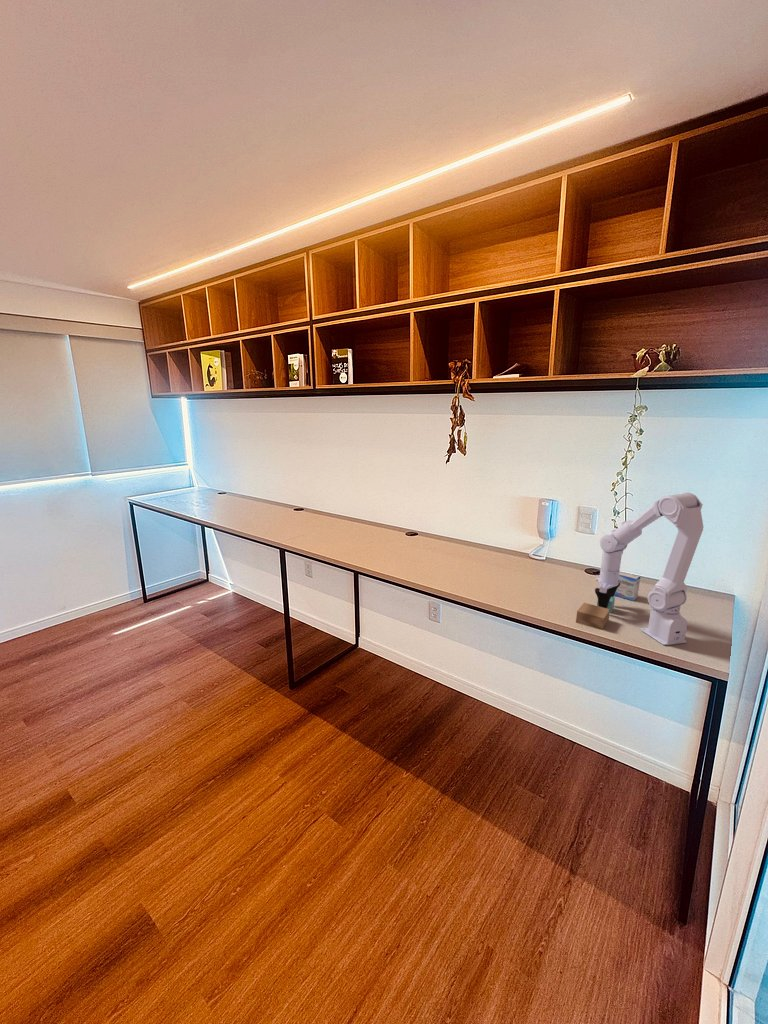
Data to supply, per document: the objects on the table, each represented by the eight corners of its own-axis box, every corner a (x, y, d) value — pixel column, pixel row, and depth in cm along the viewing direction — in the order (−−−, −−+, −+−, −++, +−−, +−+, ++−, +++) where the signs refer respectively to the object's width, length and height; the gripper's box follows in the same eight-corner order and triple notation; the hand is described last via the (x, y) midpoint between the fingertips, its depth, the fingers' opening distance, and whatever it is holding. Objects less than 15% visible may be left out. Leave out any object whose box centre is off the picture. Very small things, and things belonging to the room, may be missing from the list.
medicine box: (610, 595, 163) (613, 573, 161) (614, 591, 166) (617, 570, 164) (633, 601, 157) (637, 579, 155) (637, 597, 160) (640, 575, 158)
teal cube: (613, 609, 152) (614, 597, 151) (610, 613, 148) (611, 601, 147) (599, 605, 154) (601, 594, 153) (596, 609, 151) (597, 598, 150)
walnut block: (608, 620, 143) (609, 609, 142) (602, 629, 137) (603, 618, 136) (582, 613, 148) (584, 602, 147) (575, 622, 142) (577, 611, 141)
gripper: (602, 560, 156) (598, 595, 159) (591, 572, 145) (587, 609, 148) (624, 564, 151) (619, 600, 155) (615, 577, 140) (610, 615, 144)
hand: (605, 605), depth 151 cm, fingers open, 7 cm apart
